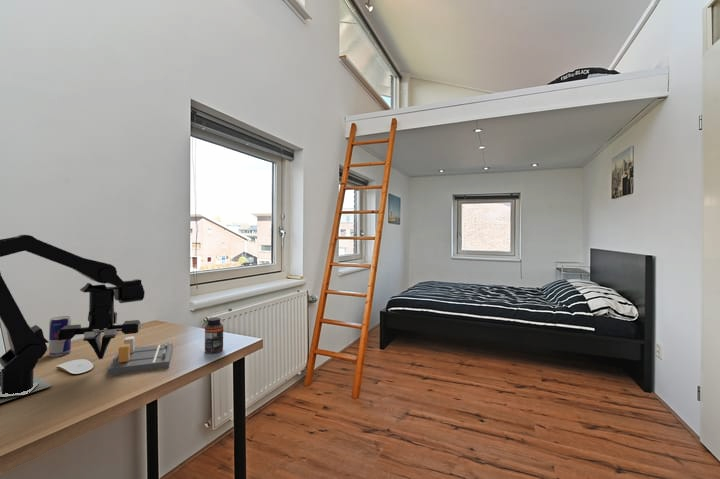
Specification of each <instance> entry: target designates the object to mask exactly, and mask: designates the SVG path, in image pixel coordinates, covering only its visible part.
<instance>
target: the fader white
mask: <svg viewBox="0 0 720 479" xmlns="http://www.w3.org/2000/svg"><path fill="white" fill-rule="evenodd" d="M135 337H136V336H135V335H134V336H126V337H124V339H123V344H130V353H133V352H134V350H135V347H136V345H135V344H136V343H135V342H136V341H135V339H136V338H135Z"/></svg>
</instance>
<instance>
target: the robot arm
mask: <svg viewBox="0 0 720 479" xmlns="http://www.w3.org/2000/svg"><path fill="white" fill-rule="evenodd" d="M20 252H27V253H30V254H32V255H35V256H38V257H41V258H44V259H45V260H49V261H51V262H54V263H57V264H59V265H61V266H64V267H67V268H69V269H72V270H73V271H75V272H78V273H79V274H81V275H82V276H84V277H86V278H87V279H89V280H90V281H92V282H95V283H98V284H94V285H93V284H92V283H90V282H87V283H86V284H85V285H84V286H83V287H81V288H79V291H80V292H82V293H89V300H88V301H89V302H88V314H87V321H88V323H89V324H88V326H87V327H82V325H81V324H71V325H66V326H64V327H63V328H62V329H60V330H59V331H58V333H57V340H68V339H71V340H72V339H73V338H74V337H75V336H76V335H78V336H79V335H84V336H83V337H84V338H83V339H82V341H83V342H88V345H90V347H91V348H92V349H93V351H94V353H95V355H96V356H97V358H98V359H99V360H103V359H104V357H105V354H106V353H107V352H106V351H107V348H108V346H109V345H110V342H111V341H112V340H111V339H115V338H116V336H118V334H119V332H121V333H122V334H124V335H131V334H133V335H134V334H137V333H139V332H140V330H141V326H142V325H141V321H140V320H139V319H133V320H125V321H124V322H123V323H122V324H117V320H118V319H117V318H118V312H116V311H115V305H114V304H115V303H114V302H115V301H118V303H120V304H126V303H135V302H140V301H143V300H144V299H145V293H146V292H145V289H144V286H143V284H142V280H141V279H138V278H137V279H136V278H135V279H132V280H131V279H130V280H123V279H122V278H121V277H120V276H119V275H118V271H117V268H116V267H115V266H114V265H113V264H110V263H106V262H103V261H98V260H94V259H90V258H85V257H82V256H79V255H77V254H75V253H72V252H69V251H67V250H64V249H62V248H60V247H58V246H55V245H52V244H50V243H48V242H45V241H43V240H40V239H38V238H36V237H34V236H33V235H29V234H19V235H16V236H12V237H7V238H6V237H5V238H2V239H0V258H1V257H6V256H9V255H12V254H13V255H14V254H17V253H20ZM106 284H109V285H112V286H106ZM0 321H1V323H2V324H3V326H4V328H5V330H6V334H7V340H8V344H9V349H8V350H7V351H6V352H5V353H3V354H2V355H1V356H0V366H2V369H1V370H0V371H1V372H0V392H1V391H2V394H5V393H8V394H13V393H14V394H15V393H21V392H23V391H27V390H29V389H31V388H32V387H33V383H34V372H35V371H34V369H35V368H36V366H37V363H38V362H39V359H41V358H43V357H44V355H45V354H46V353H47V351H48V346H47V344H49V340H48V339H46V338H45V335H44V332H43V329H42V328H41V327H40V326H38V325H37V324H35V325H33V326H30V325H29V324H28V323H27V320H26V318H25V317H24V314H23V313H22V311H21V309H20V307H19V306H18V304H17V302H16V300H15V299H14V296H13V295H12V293H11V290H10V289H9V287H8V286H7V284H6V282H5V280H4V278H3V276H2V273H1V272H0ZM102 333H103V336H102ZM101 336H102V337H101ZM28 393H29V392H28Z"/></svg>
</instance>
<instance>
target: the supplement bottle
mask: <svg viewBox="0 0 720 479" xmlns="http://www.w3.org/2000/svg"><path fill="white" fill-rule="evenodd" d="M223 349H224V325H223V324H222V323H221V317H216V316H215V317H209V318H208V319H207V324H206V325H205V327H204V352H205V353H207V352H208V353H207V354H215V353H214V352H217V353H220V352H221V350H222V351H223ZM219 351H220V352H219Z"/></svg>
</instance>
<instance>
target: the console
mask: <svg viewBox="0 0 720 479" xmlns="http://www.w3.org/2000/svg"><path fill="white" fill-rule="evenodd" d="M173 348H174V343H169V341H165V343H164V344H163V343H162V344H155V345H147V346H146V345H145V346H135V350H134V352H133V353H130V359H129V361H127V362H119V352H118V353H117V354H115V356H114V357H113V359H112V362H111V363H110V366H109V367H108V368H107V376H108V377H110V376H117V375H126V374H132V373H141V372H146V371H147V372H149V371H155V370H163V369H169V368H170V365H169V364H171V360H172V354H173Z"/></svg>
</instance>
